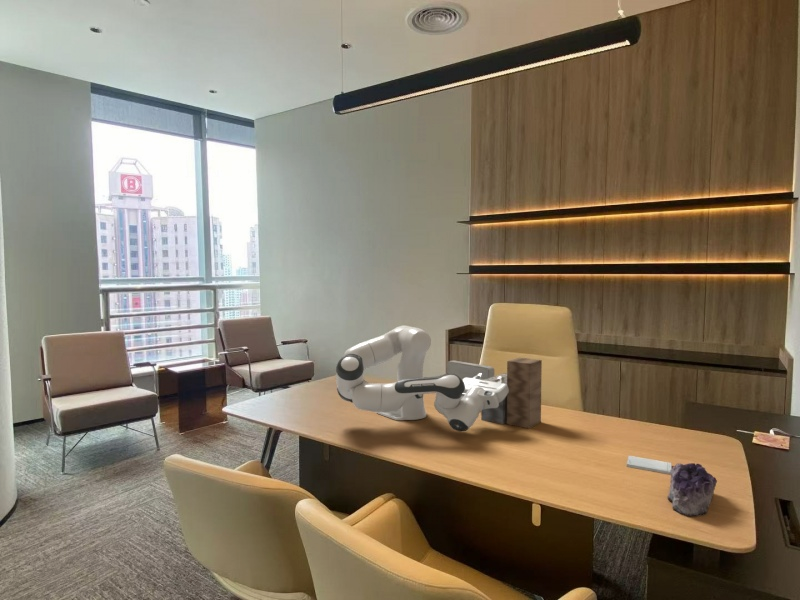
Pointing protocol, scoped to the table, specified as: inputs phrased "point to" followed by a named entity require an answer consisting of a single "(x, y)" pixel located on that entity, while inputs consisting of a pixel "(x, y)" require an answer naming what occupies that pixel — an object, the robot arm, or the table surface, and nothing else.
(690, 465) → the geode
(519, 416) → the two-tier stand
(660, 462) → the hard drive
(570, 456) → the table surface
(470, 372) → the network device
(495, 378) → the grey rectangular bar
